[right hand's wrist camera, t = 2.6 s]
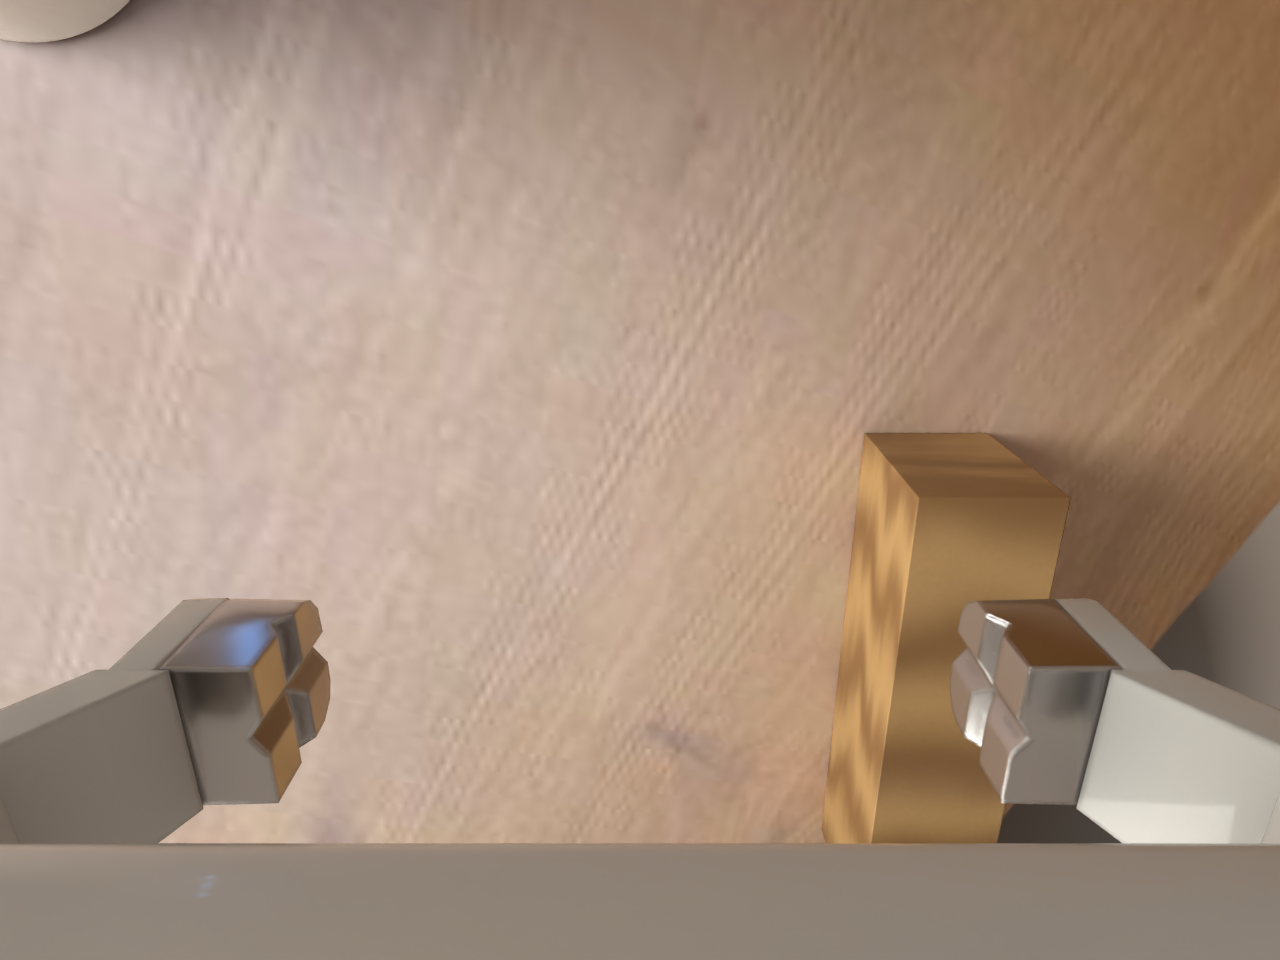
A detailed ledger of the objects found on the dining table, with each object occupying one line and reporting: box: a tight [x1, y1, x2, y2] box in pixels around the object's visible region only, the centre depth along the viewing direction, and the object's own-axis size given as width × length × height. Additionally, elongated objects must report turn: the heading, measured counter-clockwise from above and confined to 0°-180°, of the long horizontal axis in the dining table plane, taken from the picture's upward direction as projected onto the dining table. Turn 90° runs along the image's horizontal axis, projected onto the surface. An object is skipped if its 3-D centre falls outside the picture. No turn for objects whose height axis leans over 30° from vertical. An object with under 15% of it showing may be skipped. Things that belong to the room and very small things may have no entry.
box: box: [822, 433, 1071, 843], centre depth 41 cm, size 26×6×8 cm, turn 0°
